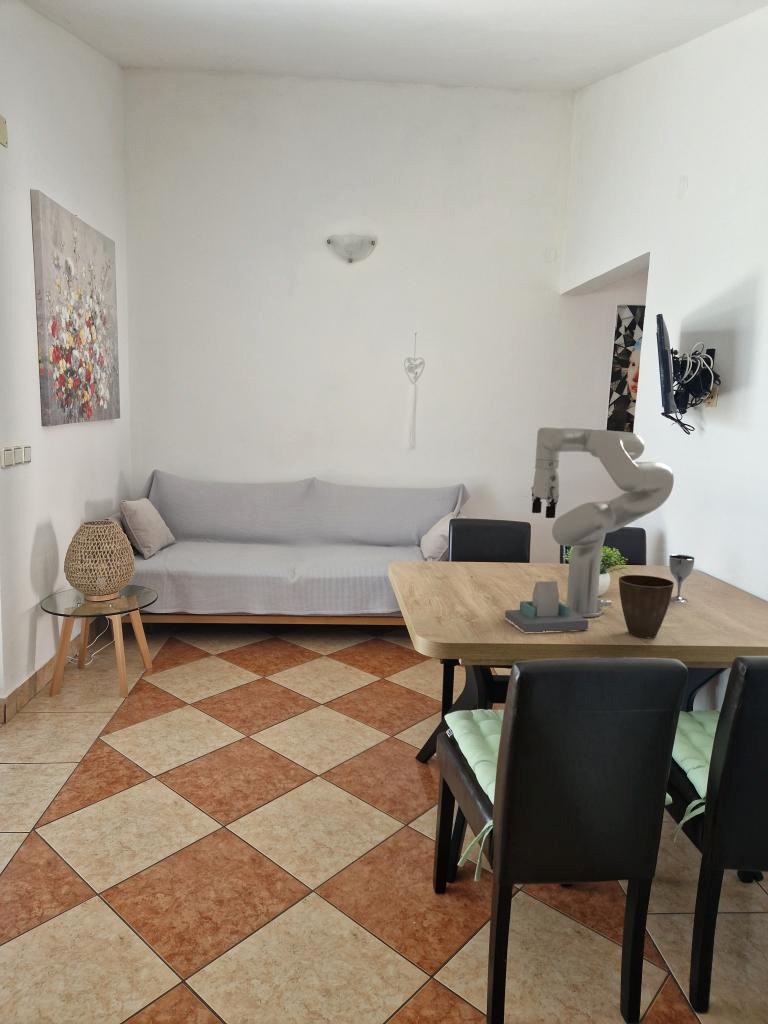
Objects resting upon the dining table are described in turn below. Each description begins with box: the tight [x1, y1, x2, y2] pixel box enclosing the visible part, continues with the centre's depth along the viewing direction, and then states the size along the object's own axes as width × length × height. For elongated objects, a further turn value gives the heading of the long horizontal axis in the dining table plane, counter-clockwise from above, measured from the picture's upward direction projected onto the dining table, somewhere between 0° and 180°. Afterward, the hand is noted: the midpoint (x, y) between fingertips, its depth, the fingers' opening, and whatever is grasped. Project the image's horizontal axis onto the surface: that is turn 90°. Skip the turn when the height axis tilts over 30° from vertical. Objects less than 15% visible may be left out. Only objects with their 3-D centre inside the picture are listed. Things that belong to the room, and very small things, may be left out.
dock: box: [504, 600, 589, 632], centre depth 217 cm, size 20×14×6 cm
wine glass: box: [668, 554, 695, 603], centre depth 250 cm, size 8×8×15 cm
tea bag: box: [531, 580, 560, 617], centre depth 217 cm, size 4×7×10 cm, turn 103°
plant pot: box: [618, 574, 675, 638], centre depth 209 cm, size 15×15×16 cm
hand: (543, 515), depth 245 cm, fingers open, 9 cm apart
